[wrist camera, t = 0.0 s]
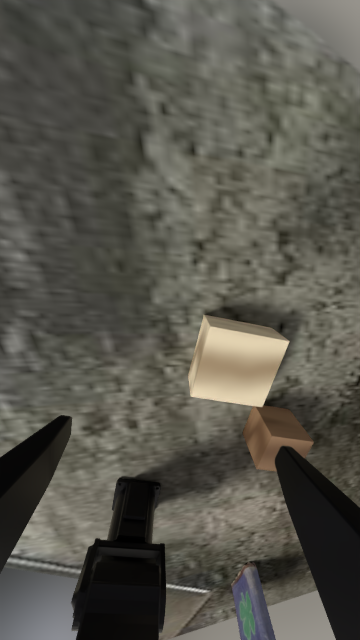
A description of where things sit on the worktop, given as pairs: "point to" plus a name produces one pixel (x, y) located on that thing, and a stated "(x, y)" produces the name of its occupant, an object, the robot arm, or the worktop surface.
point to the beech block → (235, 361)
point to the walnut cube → (273, 435)
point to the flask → (251, 605)
